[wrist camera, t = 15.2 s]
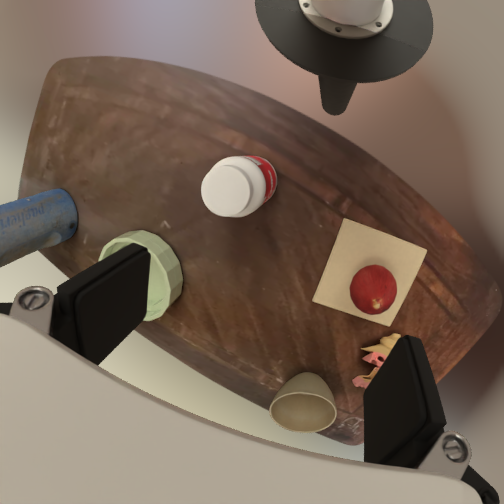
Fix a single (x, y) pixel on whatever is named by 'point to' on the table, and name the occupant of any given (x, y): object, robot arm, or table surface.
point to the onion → (373, 289)
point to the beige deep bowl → (304, 404)
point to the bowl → (154, 270)
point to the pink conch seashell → (376, 358)
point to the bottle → (35, 224)
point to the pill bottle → (238, 185)
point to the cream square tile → (363, 254)
